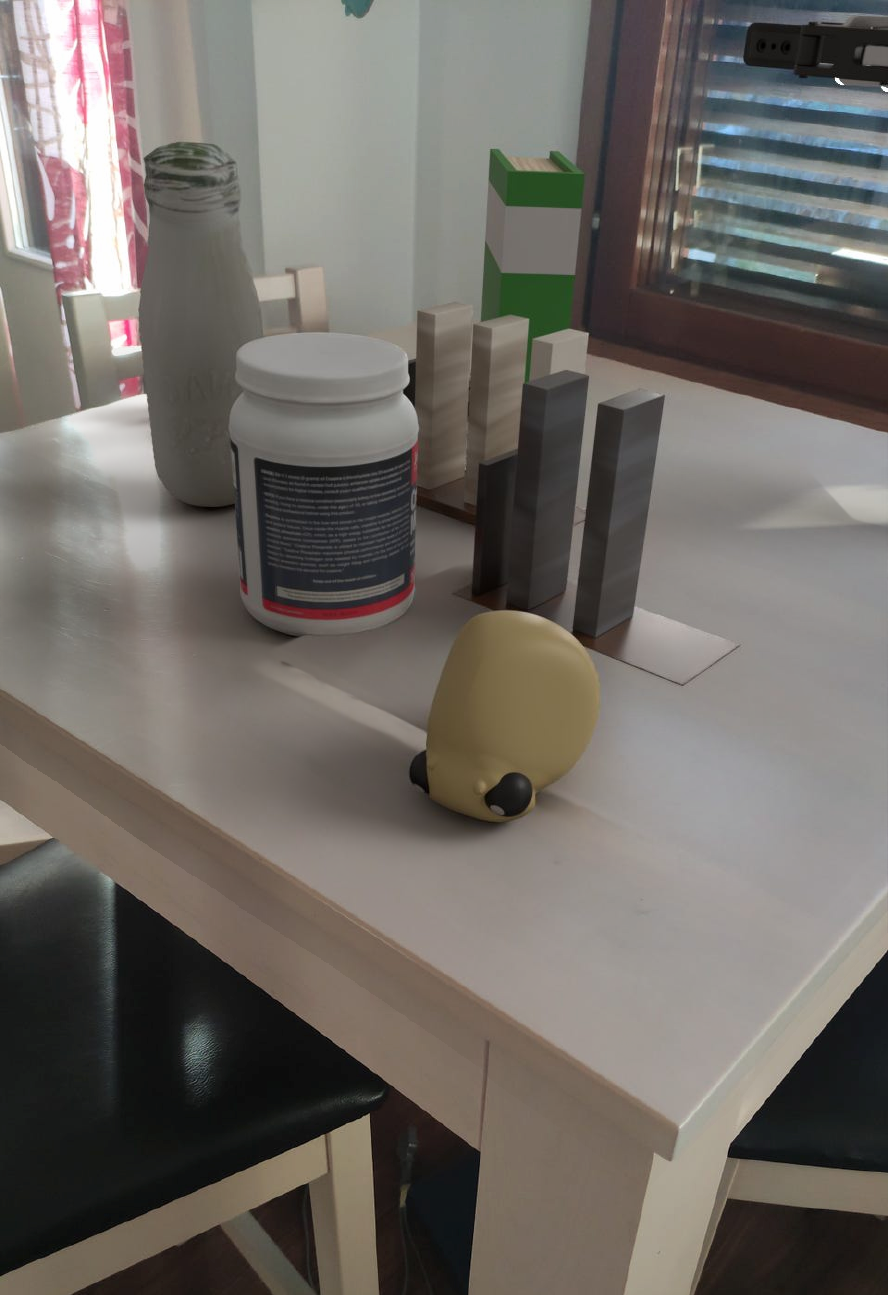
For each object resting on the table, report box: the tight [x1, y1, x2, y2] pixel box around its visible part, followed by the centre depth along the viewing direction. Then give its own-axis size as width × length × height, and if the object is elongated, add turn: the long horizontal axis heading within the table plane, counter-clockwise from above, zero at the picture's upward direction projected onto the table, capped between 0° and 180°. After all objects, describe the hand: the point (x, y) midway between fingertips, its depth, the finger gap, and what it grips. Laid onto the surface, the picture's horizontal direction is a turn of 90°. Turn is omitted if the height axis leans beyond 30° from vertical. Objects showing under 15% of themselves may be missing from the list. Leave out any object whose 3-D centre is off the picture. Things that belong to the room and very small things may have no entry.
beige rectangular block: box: [529, 328, 590, 381], centre depth 96 cm, size 2×5×15 cm, turn 140°
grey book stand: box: [451, 370, 741, 687], centre depth 80 cm, size 20×8×17 cm, turn 50°
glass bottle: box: [138, 141, 264, 508], centre depth 95 cm, size 10×10×28 cm
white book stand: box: [403, 301, 586, 527], centre depth 100 cm, size 20×8×16 cm, turn 50°
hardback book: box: [480, 148, 586, 383], centre depth 125 cm, size 18×7×24 cm, turn 4°
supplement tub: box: [229, 331, 419, 638], centre depth 81 cm, size 13×13×18 cm
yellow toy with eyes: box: [408, 610, 601, 823], centre depth 66 cm, size 10×12×11 cm
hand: (780, 42), depth 73 cm, fingers open, 8 cm apart
